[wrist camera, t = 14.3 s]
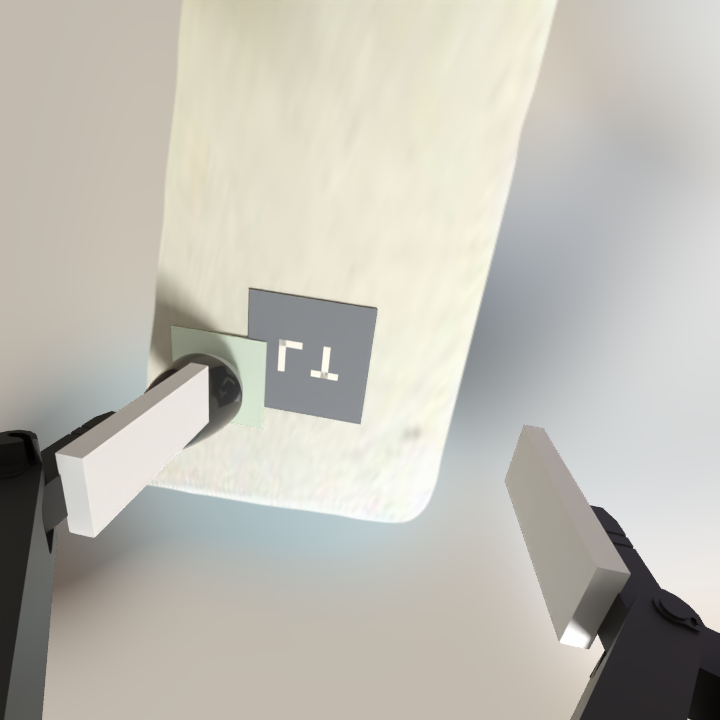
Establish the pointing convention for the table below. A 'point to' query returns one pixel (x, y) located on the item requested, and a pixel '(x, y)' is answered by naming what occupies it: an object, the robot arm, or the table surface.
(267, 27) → the table surface
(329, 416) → the tile
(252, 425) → the mat
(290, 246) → the table surface
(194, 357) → the pump dispenser
